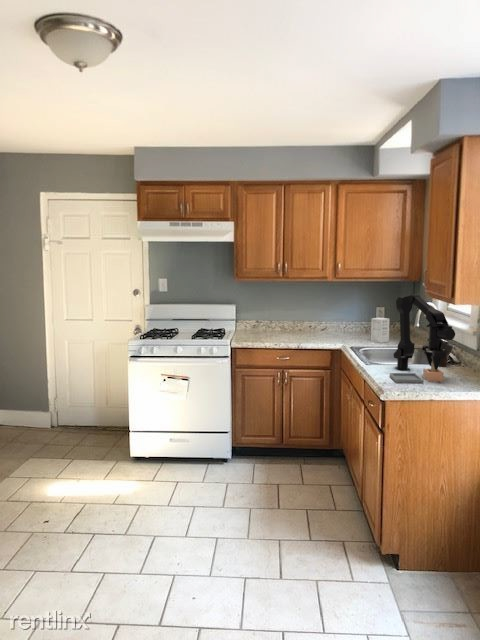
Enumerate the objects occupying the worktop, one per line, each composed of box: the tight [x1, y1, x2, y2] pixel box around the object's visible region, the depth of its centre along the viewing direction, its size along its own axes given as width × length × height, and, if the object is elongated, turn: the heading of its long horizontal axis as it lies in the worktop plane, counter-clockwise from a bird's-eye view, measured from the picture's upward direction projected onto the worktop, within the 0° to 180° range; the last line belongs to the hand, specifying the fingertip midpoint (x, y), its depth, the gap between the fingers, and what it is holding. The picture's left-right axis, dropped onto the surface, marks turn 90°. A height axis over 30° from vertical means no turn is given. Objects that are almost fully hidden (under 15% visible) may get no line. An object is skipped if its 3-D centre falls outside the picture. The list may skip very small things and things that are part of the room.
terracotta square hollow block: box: [422, 368, 445, 382], centre depth 248 cm, size 7×7×4 cm
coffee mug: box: [438, 349, 450, 368], centre depth 278 cm, size 12×9×10 cm
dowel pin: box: [430, 361, 436, 372], centre depth 247 cm, size 2×2×9 cm
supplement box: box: [370, 317, 390, 344], centre depth 354 cm, size 10×9×17 cm
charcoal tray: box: [389, 372, 425, 385], centre depth 246 cm, size 13×13×2 cm
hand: (433, 367), depth 247 cm, fingers open, 7 cm apart
